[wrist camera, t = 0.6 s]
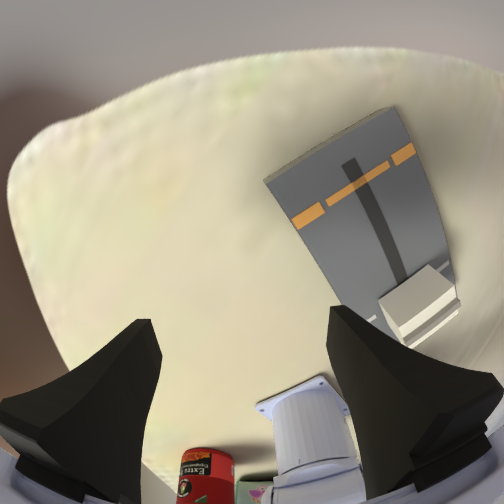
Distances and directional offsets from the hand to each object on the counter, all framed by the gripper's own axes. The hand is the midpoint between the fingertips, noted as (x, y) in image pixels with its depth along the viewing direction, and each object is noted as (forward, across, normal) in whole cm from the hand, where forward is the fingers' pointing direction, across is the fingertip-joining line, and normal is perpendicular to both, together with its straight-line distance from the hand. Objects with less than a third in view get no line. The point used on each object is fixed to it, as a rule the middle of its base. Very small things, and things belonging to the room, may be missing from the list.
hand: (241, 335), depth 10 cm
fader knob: (+7, -13, +4) cm, 15 cm away
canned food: (+10, +8, +32) cm, 35 cm away
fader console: (+9, -11, 0) cm, 14 cm away
